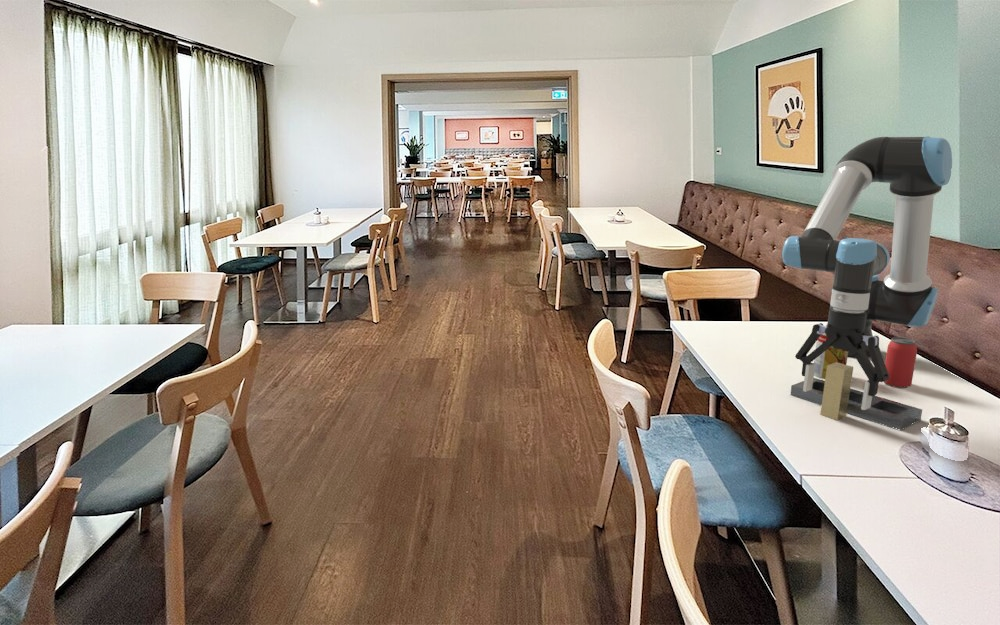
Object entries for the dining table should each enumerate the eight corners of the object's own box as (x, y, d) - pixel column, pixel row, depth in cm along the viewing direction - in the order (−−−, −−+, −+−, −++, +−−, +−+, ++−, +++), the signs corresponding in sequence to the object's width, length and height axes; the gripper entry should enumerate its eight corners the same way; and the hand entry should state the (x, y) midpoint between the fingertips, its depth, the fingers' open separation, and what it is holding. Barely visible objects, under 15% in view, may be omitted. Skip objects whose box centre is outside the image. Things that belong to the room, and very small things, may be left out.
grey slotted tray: (811, 386, 175) (812, 377, 175) (920, 419, 155) (922, 409, 155) (790, 394, 170) (791, 385, 169) (900, 430, 149) (902, 419, 149)
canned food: (851, 379, 181) (857, 336, 178) (825, 381, 179) (831, 337, 176) (831, 369, 188) (837, 327, 185) (806, 371, 187) (811, 329, 184)
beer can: (910, 390, 173) (918, 345, 170) (881, 385, 177) (888, 341, 174) (911, 382, 179) (918, 339, 176) (882, 378, 182) (889, 335, 179)
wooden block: (829, 410, 160) (836, 362, 157) (846, 416, 157) (853, 366, 154) (820, 414, 158) (827, 365, 155) (837, 420, 154) (844, 370, 151)
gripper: (786, 300, 158) (776, 386, 164) (900, 323, 139) (884, 420, 144) (804, 296, 163) (793, 380, 168) (916, 318, 143) (900, 412, 149)
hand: (835, 399), depth 156 cm, fingers open, 13 cm apart
